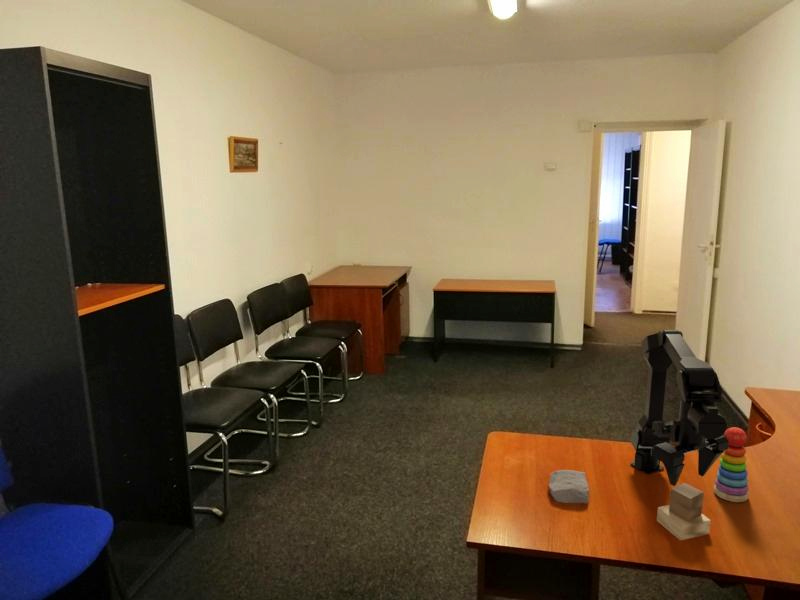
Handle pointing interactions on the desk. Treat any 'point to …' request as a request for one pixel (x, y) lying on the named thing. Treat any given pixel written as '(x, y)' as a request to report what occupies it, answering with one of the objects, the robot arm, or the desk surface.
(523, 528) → the desk surface
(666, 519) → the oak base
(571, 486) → the stone block
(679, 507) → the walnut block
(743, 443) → the stacking toy
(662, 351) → the robot arm
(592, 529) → the desk surface
